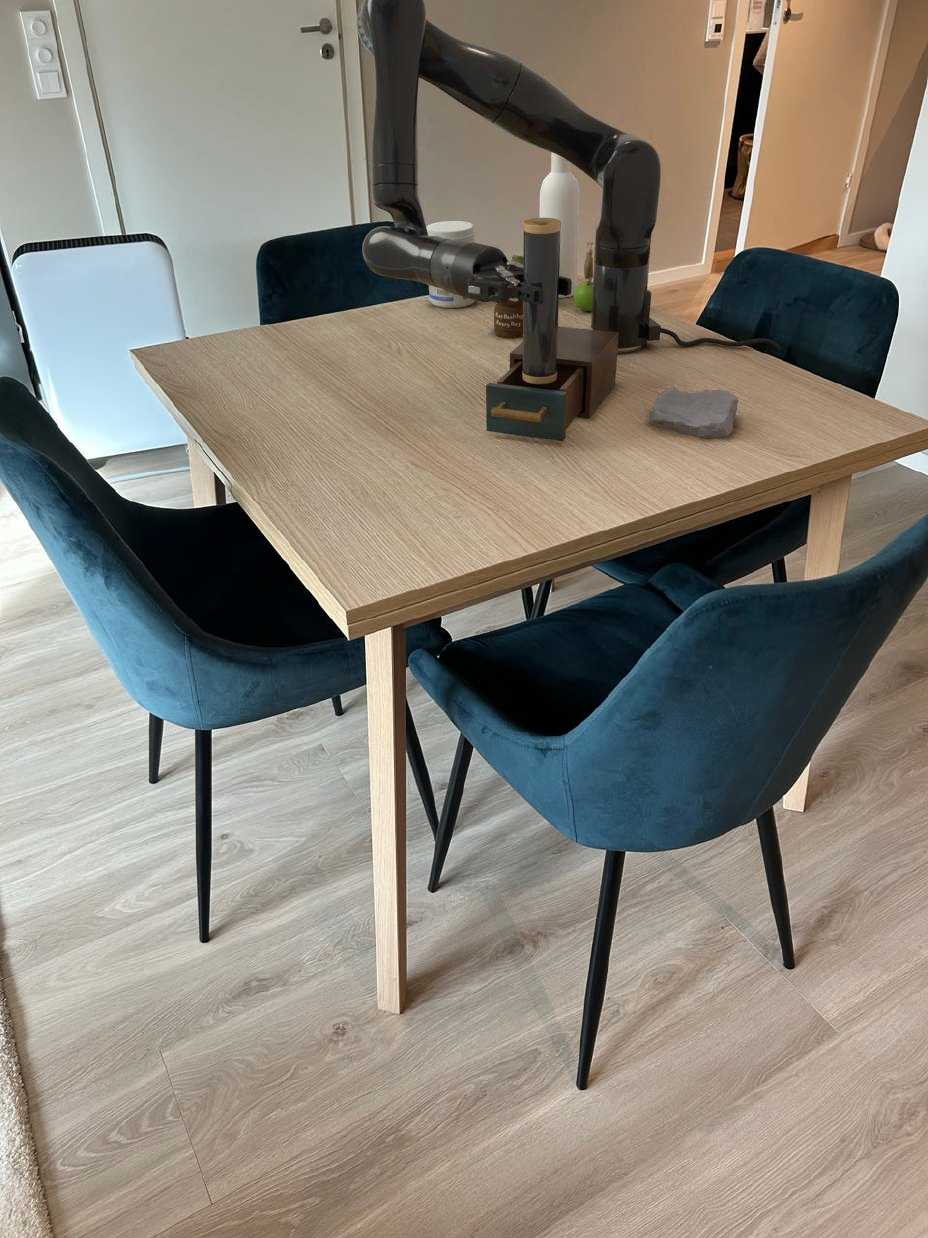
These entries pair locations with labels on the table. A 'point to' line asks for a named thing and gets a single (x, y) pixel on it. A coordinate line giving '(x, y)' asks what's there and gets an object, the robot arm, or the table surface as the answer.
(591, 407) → the cabinet
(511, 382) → the drawer
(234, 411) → the table surface
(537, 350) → the black cylinder
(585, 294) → the snail figurine
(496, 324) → the utensil holder
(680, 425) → the stone block
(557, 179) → the bottle
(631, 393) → the table surface
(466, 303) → the supplement tub
